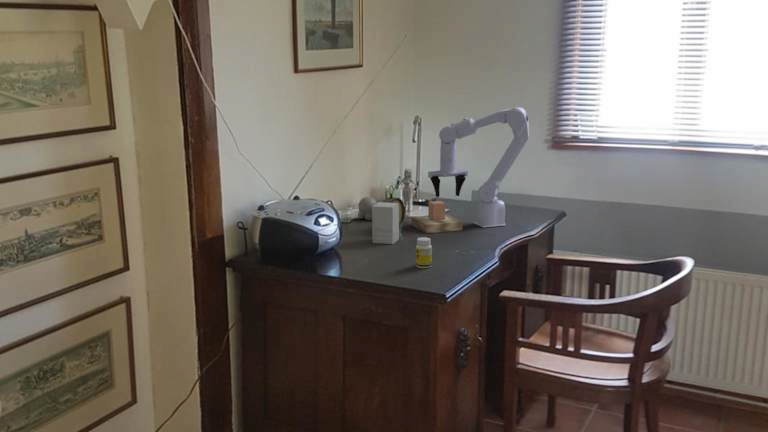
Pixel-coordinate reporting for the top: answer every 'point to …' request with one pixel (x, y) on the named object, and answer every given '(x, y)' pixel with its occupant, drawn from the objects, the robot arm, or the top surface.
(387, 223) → the supplement box
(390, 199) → the alarm clock
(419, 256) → the supplement bottle
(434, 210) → the block
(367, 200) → the chubby cartoon animal
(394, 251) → the top surface
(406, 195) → the human figurine
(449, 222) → the plinth
